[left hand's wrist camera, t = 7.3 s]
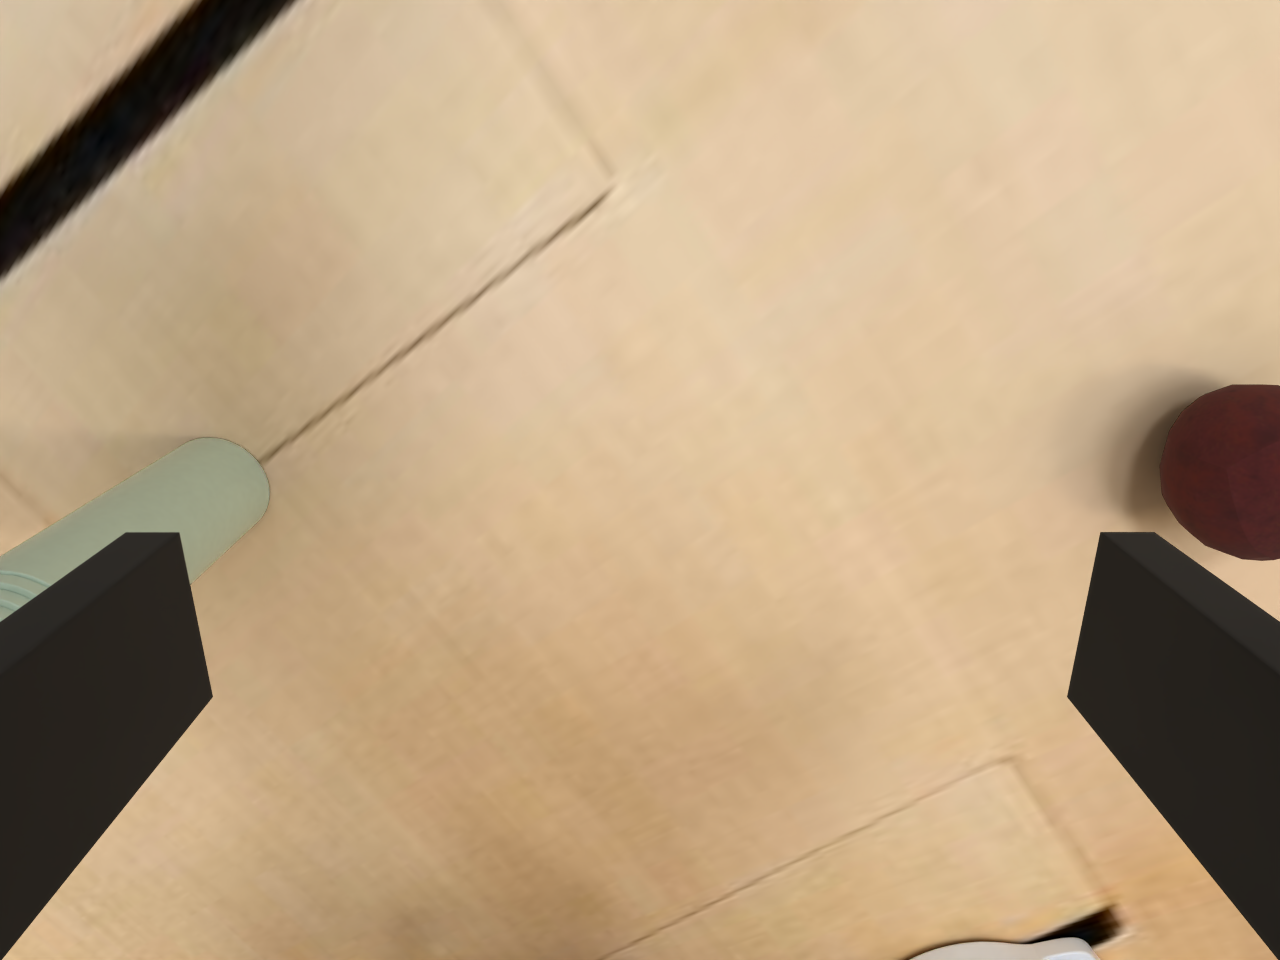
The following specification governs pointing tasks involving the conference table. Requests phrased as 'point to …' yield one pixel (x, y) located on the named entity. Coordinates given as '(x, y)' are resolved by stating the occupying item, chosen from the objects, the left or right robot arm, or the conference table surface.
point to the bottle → (148, 517)
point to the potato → (1227, 470)
